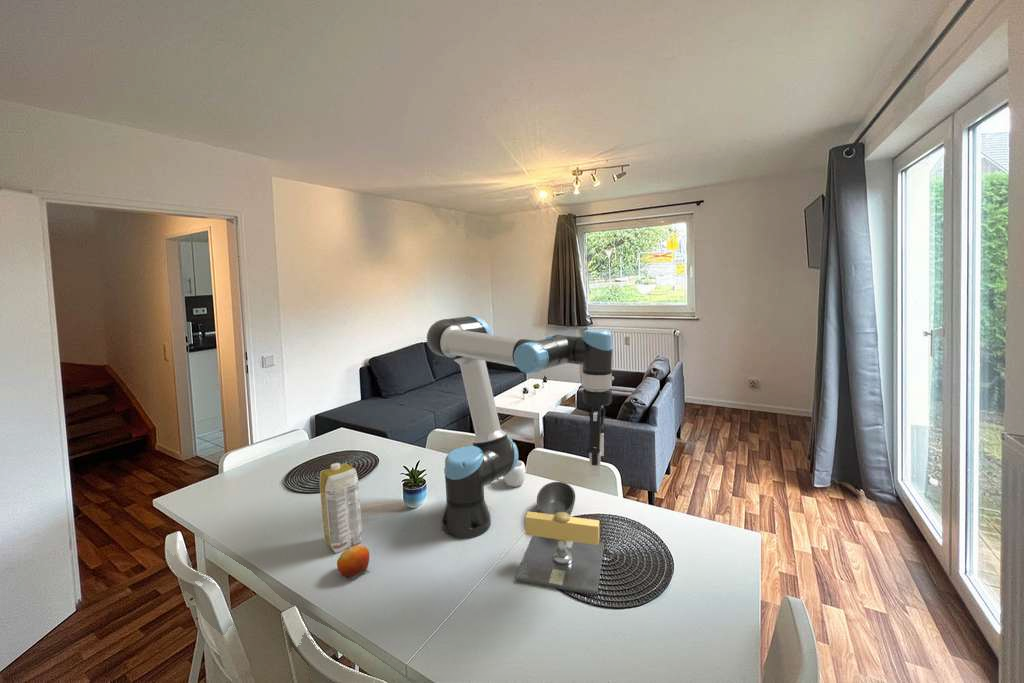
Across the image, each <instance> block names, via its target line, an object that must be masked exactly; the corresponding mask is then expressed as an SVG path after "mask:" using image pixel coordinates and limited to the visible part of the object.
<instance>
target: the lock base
mask: <svg viewBox="0 0 1024 683" xmlns="http://www.w3.org/2000/svg"><path fill="white" fill-rule="evenodd" d="M529 542H530V543H529V545H528V548H527V550H526V553H525V555H524V557H523V559H522V562H521V564H520V566H519V569H518V571H517V573H516V576H515V583H516V582H517V583H522V584H528V585H535V586H539V587H547V588H552V589H557V590H562V591H567V592H573V593H579V594H585V595H591V596H595V597H597V596H598V594H599V593H598V592H599V586H600V585H599V584H600V577H601V573H602V572H601V571H602V563H603V556H604V549H605V542H604V541H599V544H598V545H593V544H587V543H580V542H573V541H566V540H559V539H552V538H545V537H538V536H532V538H531V540H530V541H529Z"/></svg>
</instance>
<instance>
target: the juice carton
mask: <svg viewBox="0 0 1024 683" xmlns="http://www.w3.org/2000/svg"><path fill="white" fill-rule="evenodd" d="M358 477H359V476H358V473H357V470H356V468H355V467H353V466H352V465H351V464H349V463H347V462H345V463H342V464H341V463H340V462H335V463H332V464H330V468H326V469H324V470H320V473H319V492H320V504H321V513H322V525H323V535H324V539H325V543H326V544H327V546H328V547H329V548H330V549H331V551H333V552H334V553H335V554H337V553H340V552H341V553H342V552H344V551H345V550H347V549H349V548H352V547H353V546H356V545H359V544H360V543H361V542H362V535H363V533H362V532H363V531H362V530H363V526H362V513H361V503H360V502H361V500H360V488H359V487H360V486H359V478H358Z"/></svg>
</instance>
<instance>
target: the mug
mask: <svg viewBox="0 0 1024 683" xmlns="http://www.w3.org/2000/svg"><path fill="white" fill-rule="evenodd" d="M526 473H527V472H526V465H525V463H524V461H522V460H519V459H518V462H517V465H516V466H515V468H514V469H513V470H512V471H510V472H509V473H508V474H507V475H505V476H502V478H498V479H496V480H495V481H498V482H502V481H504V482H505V484H506V485H507V486H509V487H512V488H513V487H514V488H515V487H520V486H522V485H523V483H524V482H525V480H526V479H525V478H526Z"/></svg>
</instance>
